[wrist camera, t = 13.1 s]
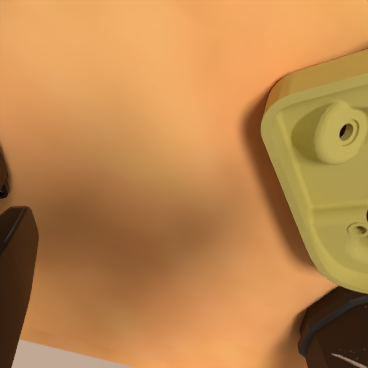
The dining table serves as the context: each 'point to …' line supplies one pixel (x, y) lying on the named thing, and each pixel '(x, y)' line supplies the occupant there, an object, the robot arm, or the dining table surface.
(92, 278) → the dining table surface
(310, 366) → the patterned black pot
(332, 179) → the plastic component
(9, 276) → the robot arm
